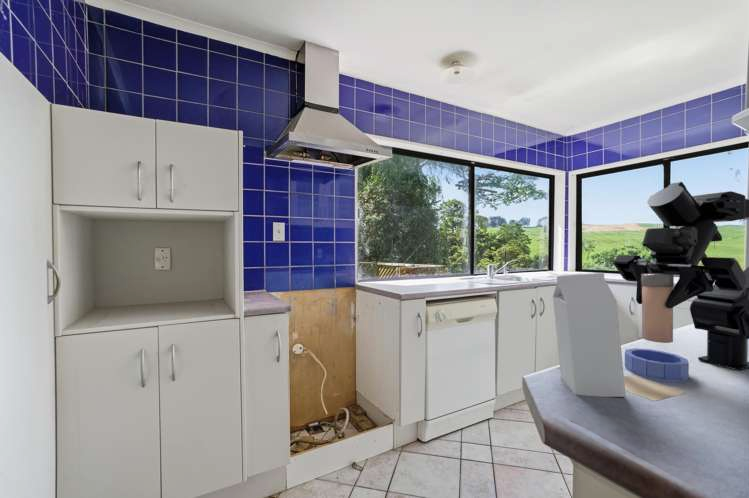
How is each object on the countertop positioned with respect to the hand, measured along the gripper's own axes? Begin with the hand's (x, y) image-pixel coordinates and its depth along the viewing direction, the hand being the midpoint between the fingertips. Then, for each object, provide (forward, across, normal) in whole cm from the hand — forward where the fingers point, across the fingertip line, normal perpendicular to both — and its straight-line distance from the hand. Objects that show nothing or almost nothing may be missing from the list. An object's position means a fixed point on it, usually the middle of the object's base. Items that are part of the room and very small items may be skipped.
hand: (652, 304), depth 62 cm
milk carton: (+20, 0, -2) cm, 21 cm away
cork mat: (+15, +3, +4) cm, 16 cm away
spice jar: (+4, 0, +6) cm, 7 cm away
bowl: (+8, 0, +10) cm, 13 cm away
